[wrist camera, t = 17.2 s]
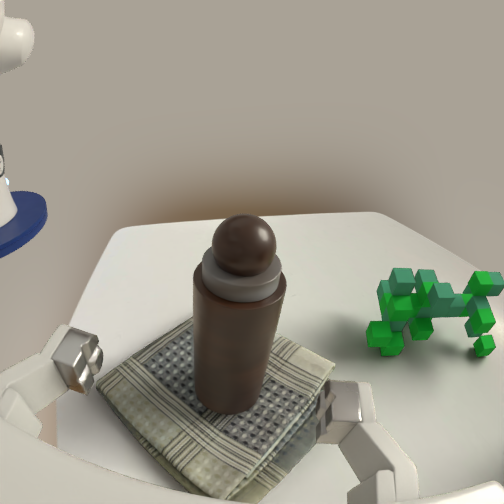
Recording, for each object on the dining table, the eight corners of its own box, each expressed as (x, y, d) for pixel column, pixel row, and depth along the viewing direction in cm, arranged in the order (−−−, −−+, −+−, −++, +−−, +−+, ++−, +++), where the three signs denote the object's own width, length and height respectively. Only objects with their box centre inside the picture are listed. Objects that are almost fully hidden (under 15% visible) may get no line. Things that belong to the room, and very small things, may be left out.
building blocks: (379, 412, 30) (408, 328, 24) (339, 342, 41) (348, 258, 35) (494, 357, 33) (528, 279, 26) (448, 308, 44) (467, 235, 37)
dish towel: (91, 390, 25) (82, 370, 24) (218, 308, 38) (219, 288, 36) (239, 533, 16) (243, 529, 15) (353, 395, 29) (365, 377, 27)
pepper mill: (196, 416, 23) (194, 244, 14) (193, 362, 27) (194, 194, 19) (265, 412, 24) (313, 246, 15) (254, 361, 28) (285, 198, 20)
